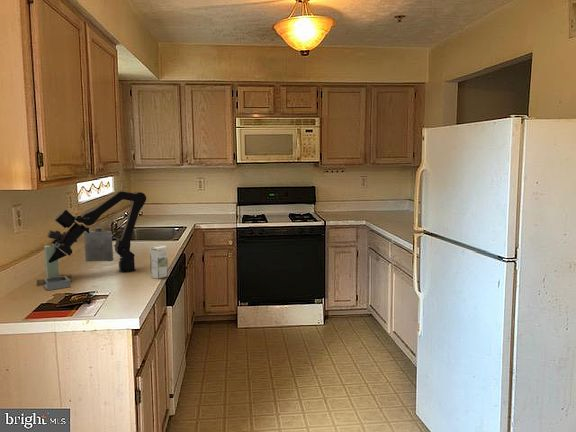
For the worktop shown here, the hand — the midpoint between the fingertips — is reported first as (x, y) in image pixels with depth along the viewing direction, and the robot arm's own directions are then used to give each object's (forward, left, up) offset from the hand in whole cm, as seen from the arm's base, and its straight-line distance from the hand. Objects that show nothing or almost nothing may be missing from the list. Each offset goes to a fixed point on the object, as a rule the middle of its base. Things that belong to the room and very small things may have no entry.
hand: (48, 261), depth 216 cm
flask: (-29, -30, -9) cm, 43 cm away
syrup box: (-42, +24, -9) cm, 50 cm away
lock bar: (-1, 0, -7) cm, 7 cm away
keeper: (-1, +13, -9) cm, 16 cm away
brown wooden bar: (-1, +6, -9) cm, 11 cm away
